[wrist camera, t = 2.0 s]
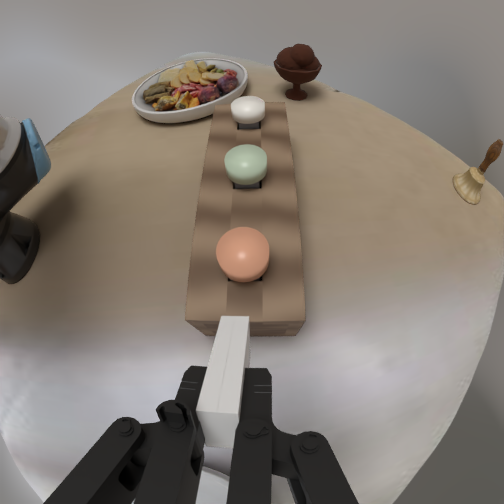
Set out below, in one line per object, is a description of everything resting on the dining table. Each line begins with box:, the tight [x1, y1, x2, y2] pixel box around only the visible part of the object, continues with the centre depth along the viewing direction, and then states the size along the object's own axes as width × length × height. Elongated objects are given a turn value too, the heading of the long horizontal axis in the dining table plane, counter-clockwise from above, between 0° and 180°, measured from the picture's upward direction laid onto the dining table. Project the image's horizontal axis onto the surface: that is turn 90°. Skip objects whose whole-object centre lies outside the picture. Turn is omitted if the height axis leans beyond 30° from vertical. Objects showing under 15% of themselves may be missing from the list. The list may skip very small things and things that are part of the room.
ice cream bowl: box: [274, 44, 322, 100], centre depth 52 cm, size 11×11×15 cm
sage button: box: [224, 144, 267, 189], centre depth 34 cm, size 5×5×6 cm
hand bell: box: [453, 139, 503, 205], centre depth 38 cm, size 8×8×16 cm
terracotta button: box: [216, 227, 269, 283], centre depth 28 cm, size 5×5×6 cm
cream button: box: [231, 96, 265, 130], centre depth 39 cm, size 5×5×6 cm
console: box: [185, 102, 305, 336], centre depth 39 cm, size 36×12×10 cm, turn 179°
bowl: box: [132, 58, 248, 123], centre depth 58 cm, size 30×30×8 cm
